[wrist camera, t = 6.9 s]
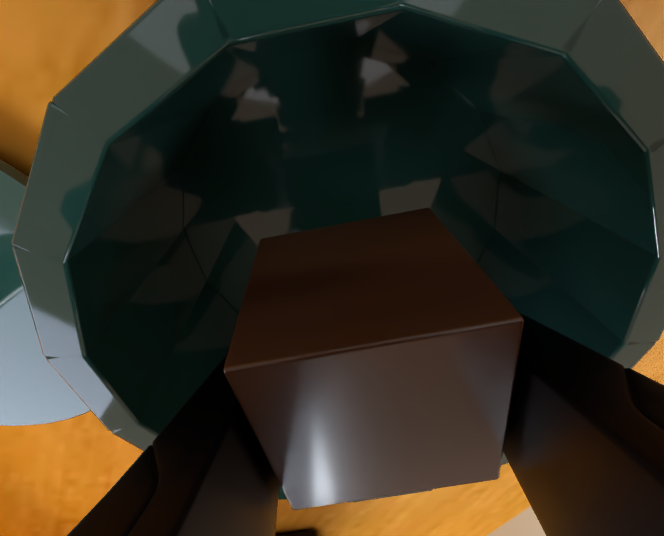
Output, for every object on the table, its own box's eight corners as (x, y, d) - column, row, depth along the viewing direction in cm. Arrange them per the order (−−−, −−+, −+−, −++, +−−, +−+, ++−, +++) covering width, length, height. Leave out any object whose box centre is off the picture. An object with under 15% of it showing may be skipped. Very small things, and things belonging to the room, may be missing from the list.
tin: (497, 322, 15) (603, 465, 10) (232, 367, 16) (192, 527, 10) (537, -33, 9) (906, -194, 3) (87, 61, 9) (-226, 56, 4)
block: (432, 334, 10) (500, 480, 6) (298, 357, 10) (292, 512, 6) (429, 205, 8) (526, 318, 4) (259, 238, 8) (220, 370, 4)
